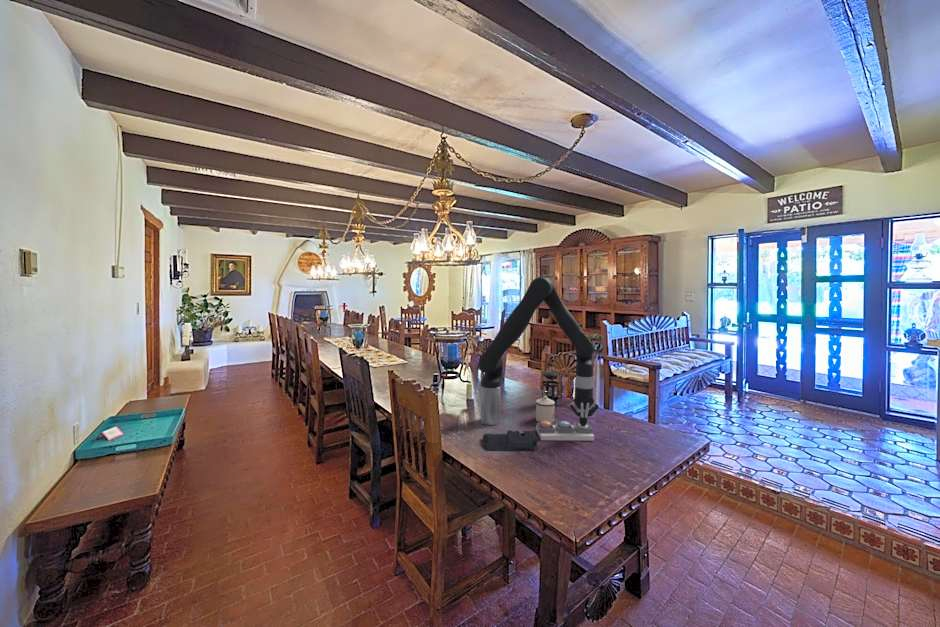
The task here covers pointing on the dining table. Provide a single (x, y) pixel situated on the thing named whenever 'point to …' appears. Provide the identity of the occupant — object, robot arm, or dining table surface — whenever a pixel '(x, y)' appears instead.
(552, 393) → the french press
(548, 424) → the terracotta button
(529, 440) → the dark slate chunk
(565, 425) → the slate button
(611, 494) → the dining table surface
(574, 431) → the button panel
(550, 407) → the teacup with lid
